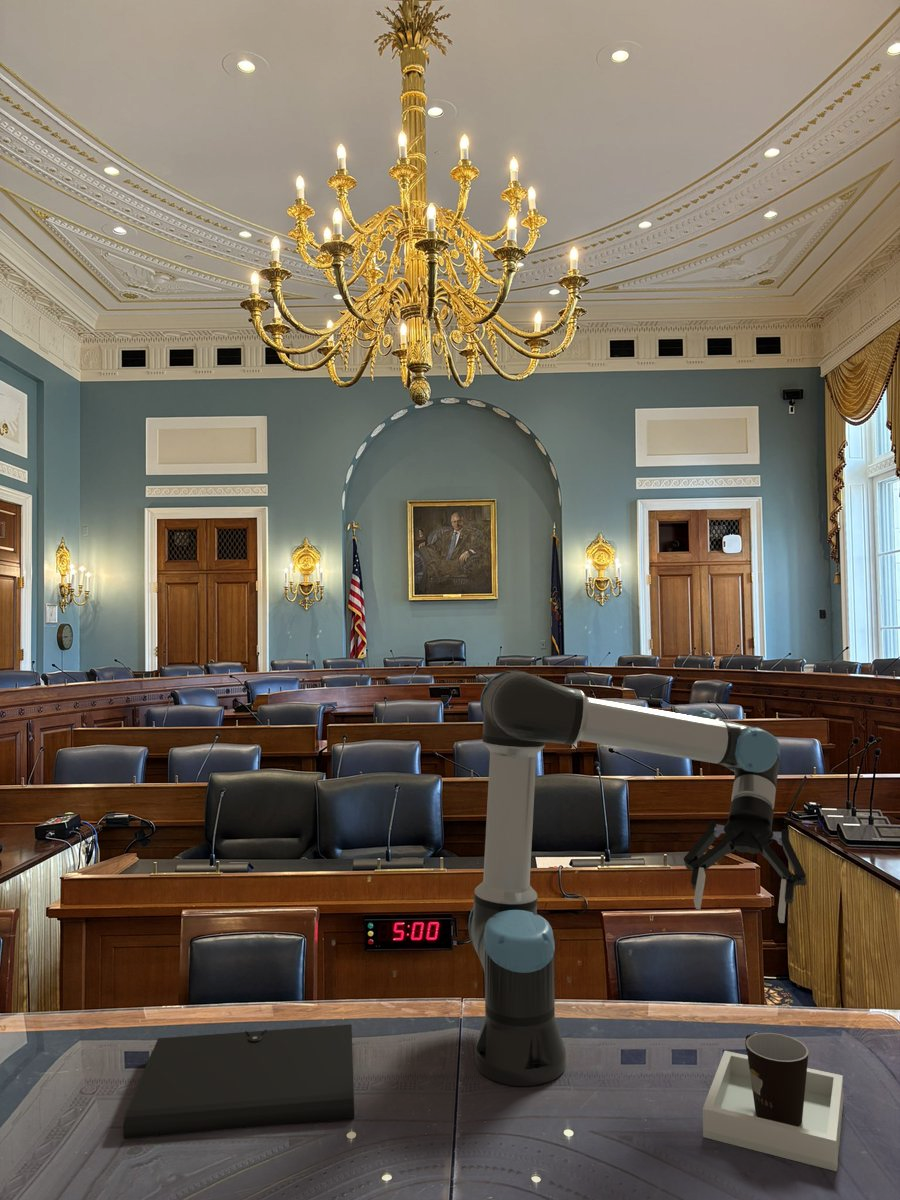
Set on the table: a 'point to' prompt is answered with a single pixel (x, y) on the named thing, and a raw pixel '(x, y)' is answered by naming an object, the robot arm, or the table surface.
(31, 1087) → the table surface
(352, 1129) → the table surface
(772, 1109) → the coffee mug
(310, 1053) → the file folder
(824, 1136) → the white storage tray
